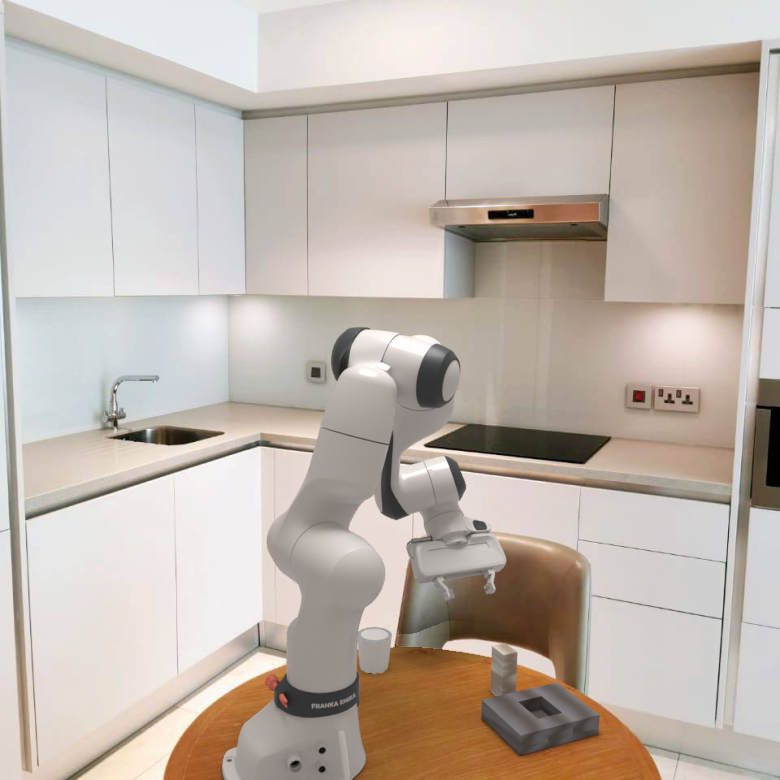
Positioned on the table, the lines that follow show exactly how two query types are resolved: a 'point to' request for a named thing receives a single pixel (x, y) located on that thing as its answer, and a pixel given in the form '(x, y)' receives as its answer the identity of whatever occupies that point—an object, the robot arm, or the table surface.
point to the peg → (503, 670)
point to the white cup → (374, 649)
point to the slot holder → (539, 718)
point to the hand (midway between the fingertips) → (471, 595)
